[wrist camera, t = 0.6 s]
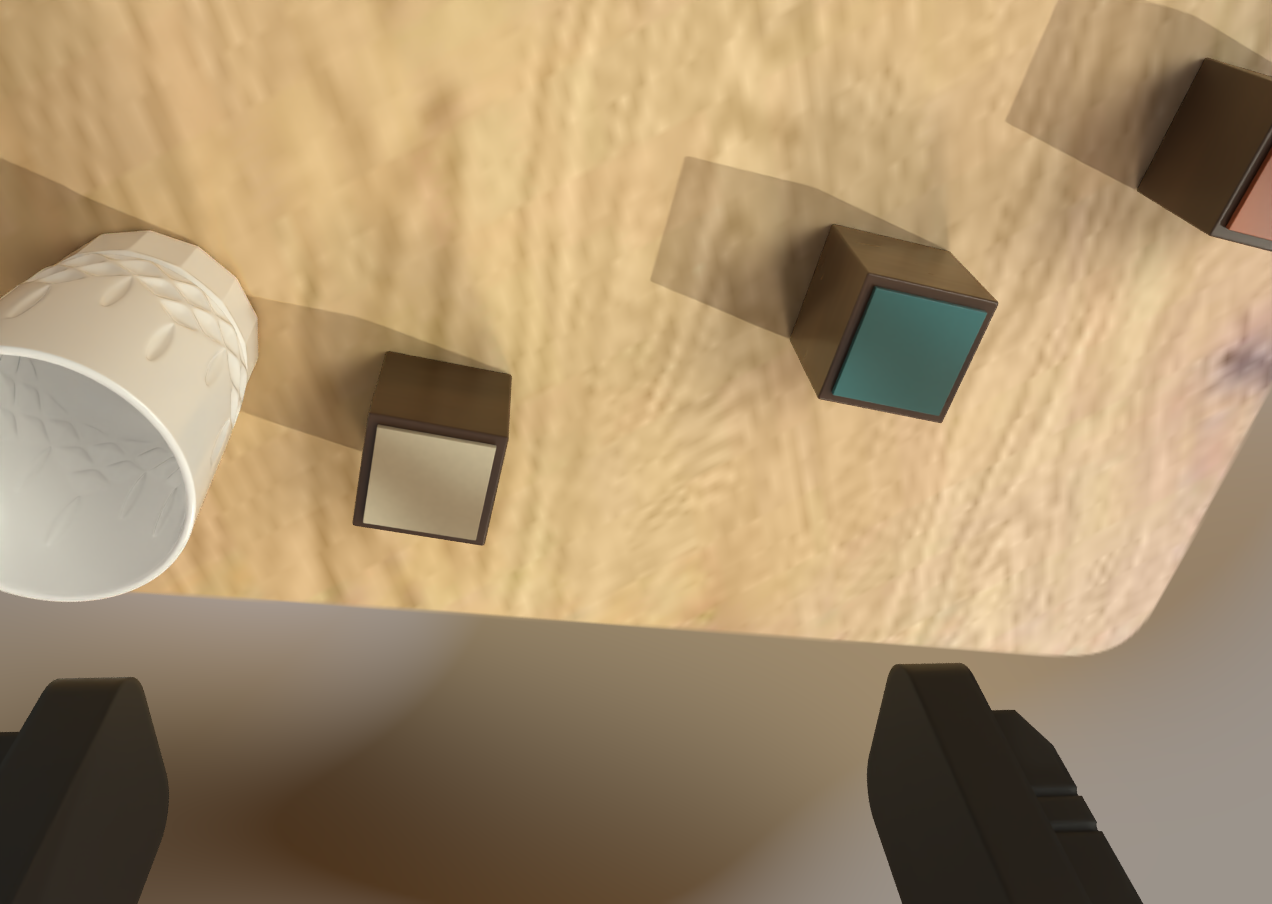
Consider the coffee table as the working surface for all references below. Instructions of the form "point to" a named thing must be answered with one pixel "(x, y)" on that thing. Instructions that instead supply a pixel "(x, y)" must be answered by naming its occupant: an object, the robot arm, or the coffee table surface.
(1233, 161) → the red-topped brown block
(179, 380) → the white cup
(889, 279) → the teal topped brown block
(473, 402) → the brown block
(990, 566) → the coffee table surface
